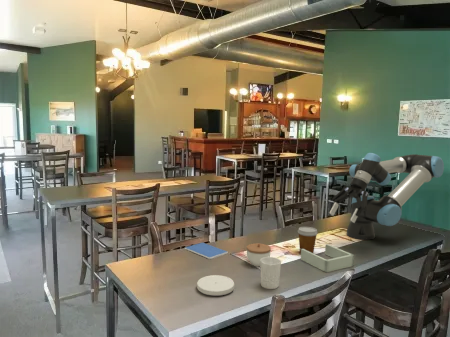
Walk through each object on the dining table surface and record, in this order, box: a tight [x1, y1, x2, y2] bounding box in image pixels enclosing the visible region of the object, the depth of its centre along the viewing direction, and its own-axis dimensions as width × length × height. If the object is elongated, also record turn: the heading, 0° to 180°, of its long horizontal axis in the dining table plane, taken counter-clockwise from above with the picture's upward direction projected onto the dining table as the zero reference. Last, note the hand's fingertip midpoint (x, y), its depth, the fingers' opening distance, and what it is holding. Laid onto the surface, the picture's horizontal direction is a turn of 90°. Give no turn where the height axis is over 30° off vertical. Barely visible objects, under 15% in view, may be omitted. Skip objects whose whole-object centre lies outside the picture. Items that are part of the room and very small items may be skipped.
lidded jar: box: [246, 242, 272, 267], centre depth 159 cm, size 11×11×9 cm
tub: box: [300, 243, 355, 273], centre depth 163 cm, size 16×16×5 cm
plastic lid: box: [196, 274, 235, 297], centre depth 135 cm, size 14×14×2 cm
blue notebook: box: [184, 242, 229, 260], centre depth 175 cm, size 19×13×1 cm, turn 44°
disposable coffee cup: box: [297, 226, 318, 254], centre depth 174 cm, size 10×10×12 cm
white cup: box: [260, 256, 282, 290], centre depth 138 cm, size 8×8×10 cm
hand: (341, 217), depth 177 cm, fingers open, 13 cm apart
